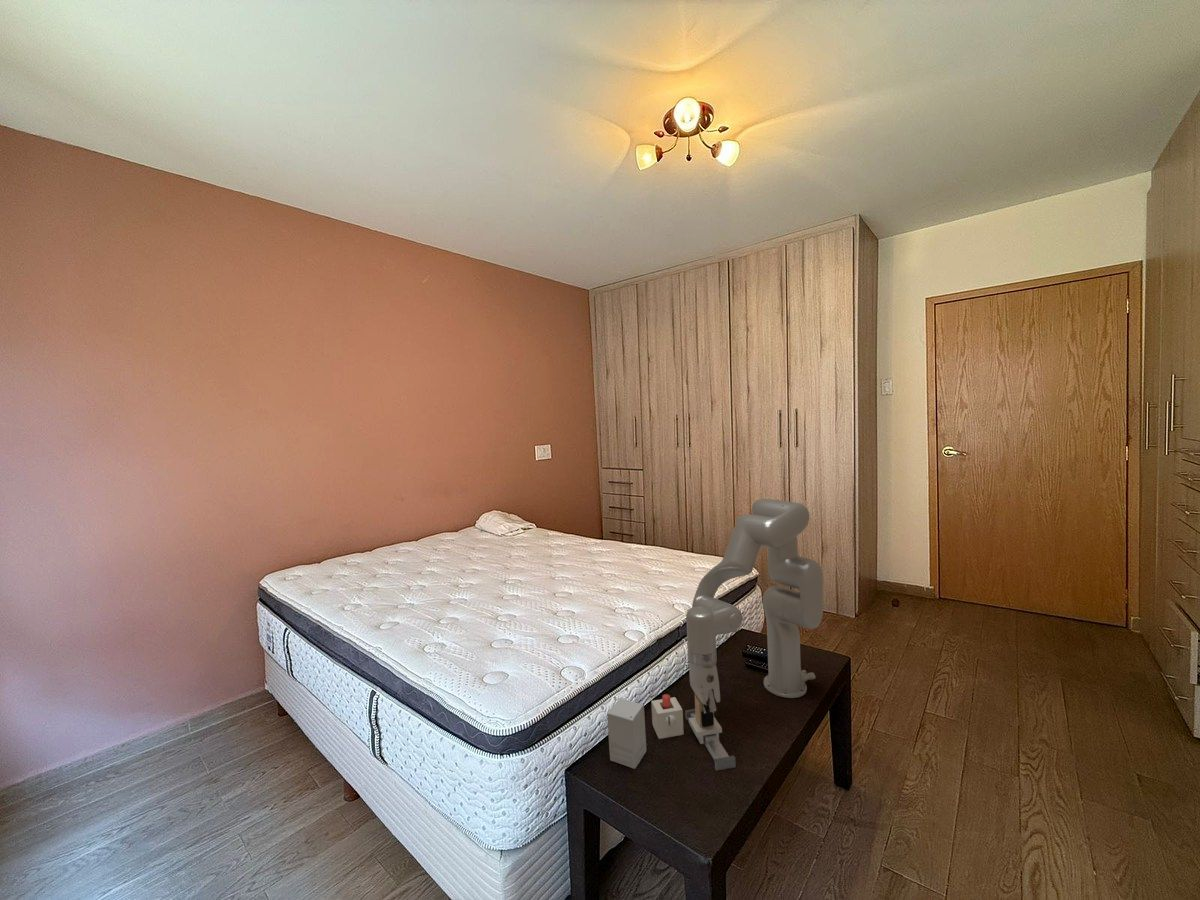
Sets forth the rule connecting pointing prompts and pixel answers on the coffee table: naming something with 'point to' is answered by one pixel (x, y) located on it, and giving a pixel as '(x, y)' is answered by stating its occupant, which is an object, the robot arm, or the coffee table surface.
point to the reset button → (666, 701)
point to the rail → (715, 748)
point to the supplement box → (626, 732)
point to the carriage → (697, 723)
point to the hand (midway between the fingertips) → (704, 720)
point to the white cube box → (667, 719)
